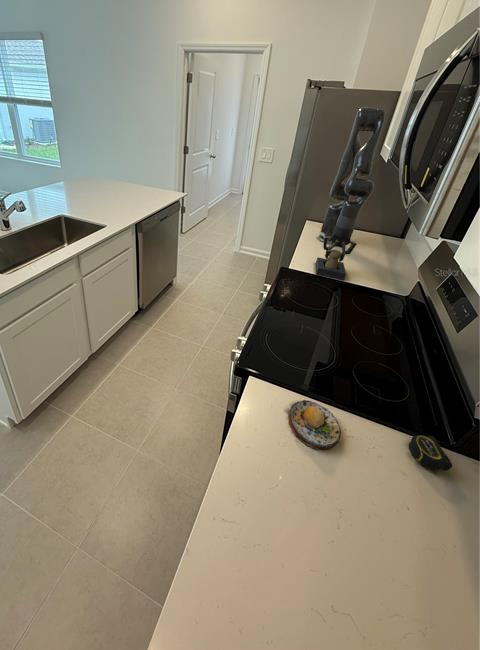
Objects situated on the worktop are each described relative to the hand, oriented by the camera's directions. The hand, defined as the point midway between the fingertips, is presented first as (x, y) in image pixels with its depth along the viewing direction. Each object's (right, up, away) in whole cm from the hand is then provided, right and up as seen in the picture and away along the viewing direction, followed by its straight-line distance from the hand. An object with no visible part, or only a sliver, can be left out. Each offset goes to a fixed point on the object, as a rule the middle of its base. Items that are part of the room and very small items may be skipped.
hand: (333, 259), depth 143 cm
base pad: (-1, -6, +3) cm, 6 cm away
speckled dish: (-37, -43, -68) cm, 89 cm away
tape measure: (-12, -48, -72) cm, 88 cm away
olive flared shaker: (-1, -6, +3) cm, 7 cm away
